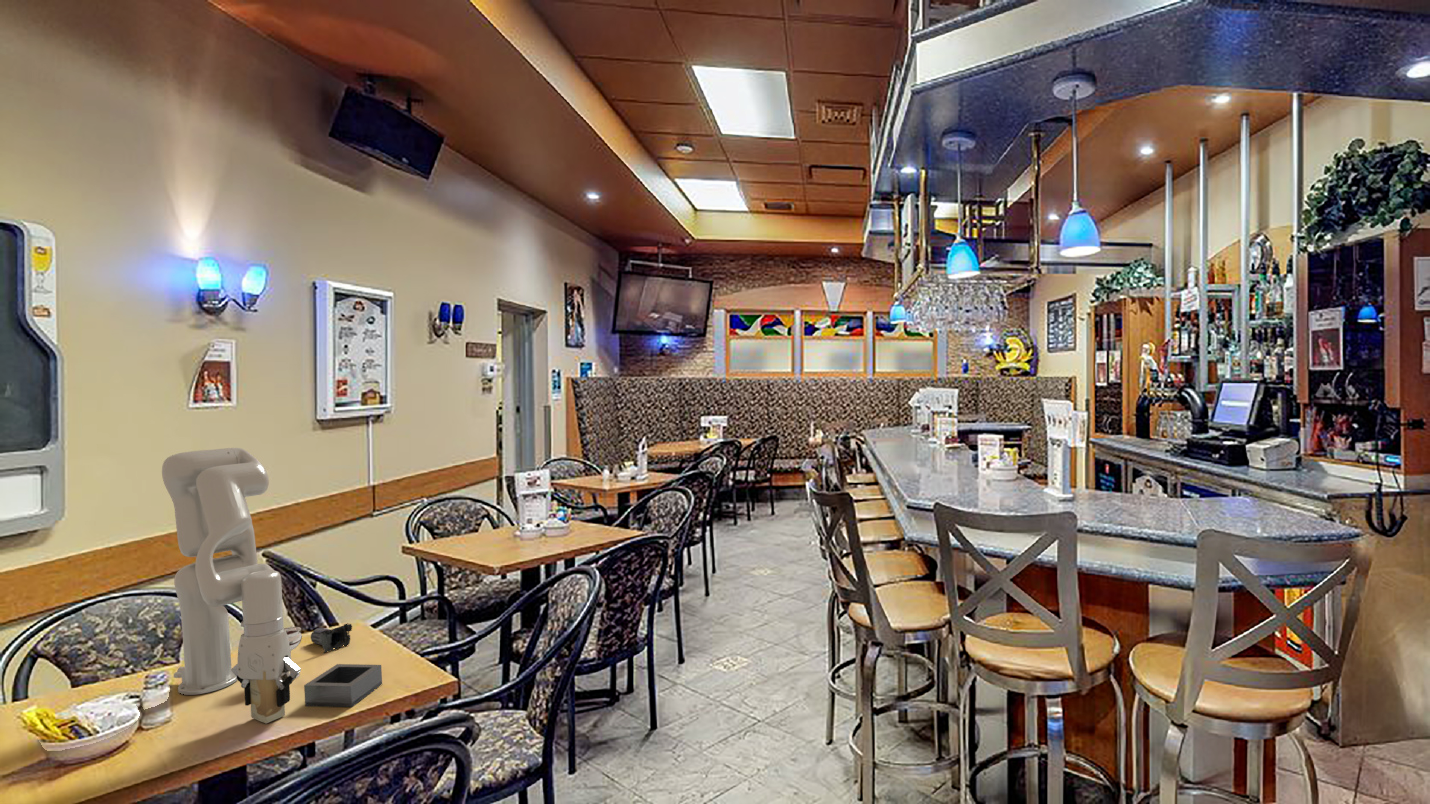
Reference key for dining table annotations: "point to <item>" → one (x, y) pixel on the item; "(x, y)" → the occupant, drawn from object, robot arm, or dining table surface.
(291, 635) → the wineglass
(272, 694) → the skincare box
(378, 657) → the dining table surface
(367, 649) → the dining table surface
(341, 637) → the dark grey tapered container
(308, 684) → the rectangular box socket
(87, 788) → the dining table surface
